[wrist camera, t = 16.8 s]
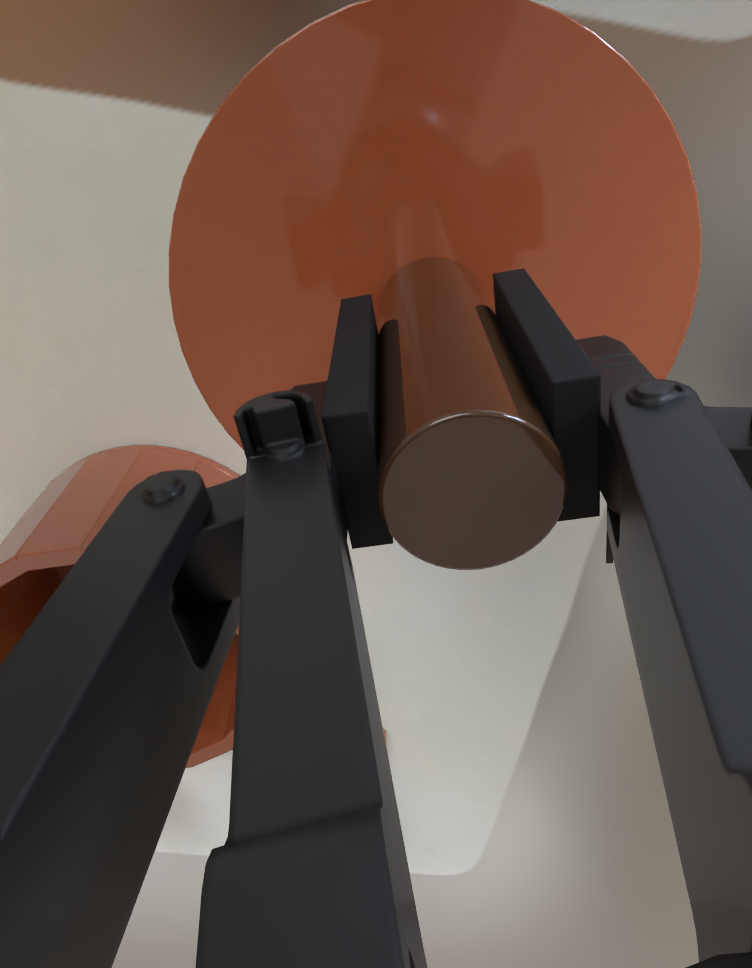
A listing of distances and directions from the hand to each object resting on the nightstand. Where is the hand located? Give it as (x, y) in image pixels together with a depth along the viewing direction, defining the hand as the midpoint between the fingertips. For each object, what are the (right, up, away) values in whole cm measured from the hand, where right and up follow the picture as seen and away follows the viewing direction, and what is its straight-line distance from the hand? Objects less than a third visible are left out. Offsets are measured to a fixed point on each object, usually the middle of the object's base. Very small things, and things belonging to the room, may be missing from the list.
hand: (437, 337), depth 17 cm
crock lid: (0, +2, +2) cm, 3 cm away
